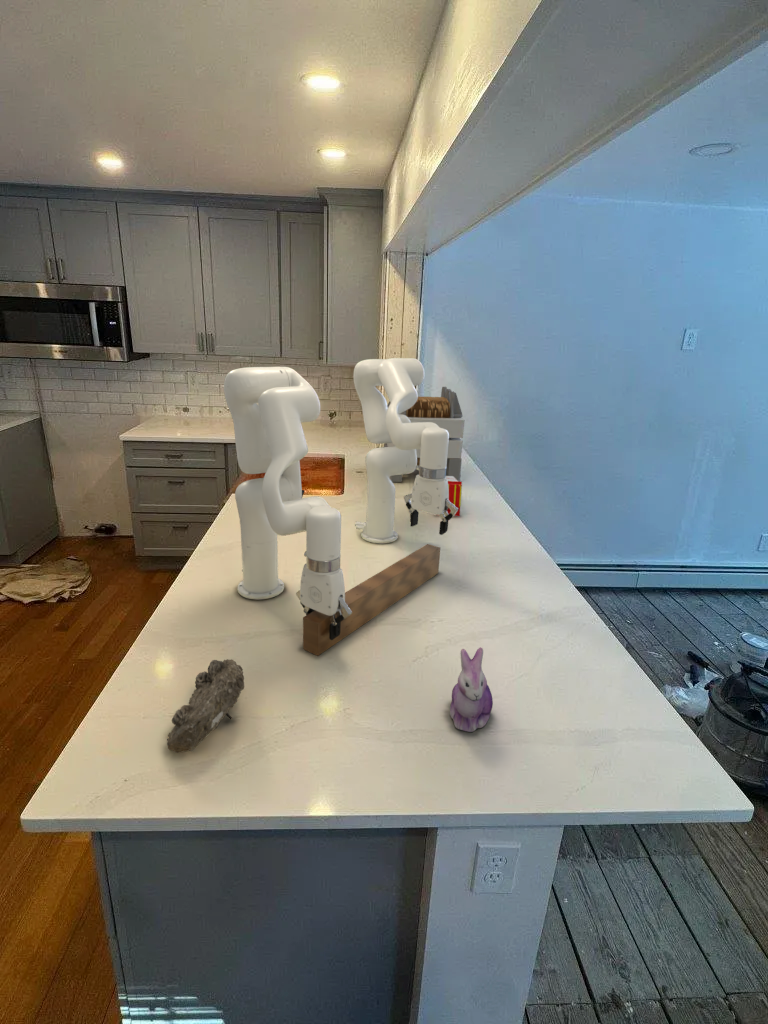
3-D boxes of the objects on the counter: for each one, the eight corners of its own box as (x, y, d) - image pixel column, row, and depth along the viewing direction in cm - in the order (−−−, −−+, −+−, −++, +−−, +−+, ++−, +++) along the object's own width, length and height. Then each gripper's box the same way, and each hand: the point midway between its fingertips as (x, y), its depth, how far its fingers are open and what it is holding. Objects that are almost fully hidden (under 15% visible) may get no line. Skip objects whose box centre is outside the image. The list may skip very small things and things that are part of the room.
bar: (425, 569, 174) (427, 543, 171) (438, 573, 171) (440, 547, 169) (303, 649, 131) (302, 617, 128) (317, 656, 128) (317, 623, 125)
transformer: (382, 463, 289) (386, 382, 275) (445, 464, 293) (451, 384, 279) (390, 482, 257) (394, 392, 243) (460, 483, 261) (468, 394, 247)
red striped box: (454, 471, 244) (466, 482, 214) (452, 502, 246) (464, 517, 217) (426, 471, 243) (434, 481, 214) (424, 501, 246) (432, 516, 217)
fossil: (192, 660, 117) (244, 628, 112) (224, 691, 120) (276, 661, 115) (142, 746, 98) (202, 712, 93) (182, 779, 101) (242, 748, 96)
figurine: (465, 741, 105) (473, 672, 100) (436, 707, 113) (441, 643, 108) (506, 726, 109) (515, 660, 104) (474, 695, 117) (481, 632, 112)
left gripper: (283, 556, 127) (284, 626, 133) (343, 579, 118) (342, 652, 124) (305, 546, 133) (306, 613, 139) (364, 567, 124) (362, 637, 130)
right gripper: (399, 469, 160) (396, 525, 166) (453, 481, 151) (448, 540, 157) (413, 464, 166) (409, 518, 172) (466, 475, 157) (460, 533, 163)
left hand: (323, 631), depth 132 cm, fingers open, 6 cm apart
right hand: (428, 529), depth 164 cm, fingers open, 9 cm apart
